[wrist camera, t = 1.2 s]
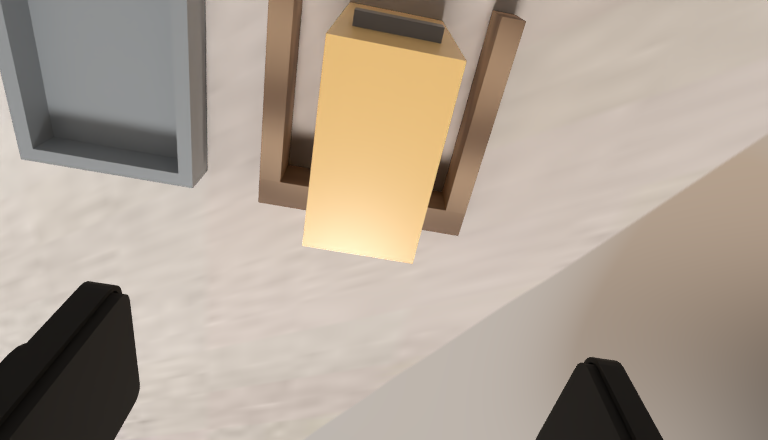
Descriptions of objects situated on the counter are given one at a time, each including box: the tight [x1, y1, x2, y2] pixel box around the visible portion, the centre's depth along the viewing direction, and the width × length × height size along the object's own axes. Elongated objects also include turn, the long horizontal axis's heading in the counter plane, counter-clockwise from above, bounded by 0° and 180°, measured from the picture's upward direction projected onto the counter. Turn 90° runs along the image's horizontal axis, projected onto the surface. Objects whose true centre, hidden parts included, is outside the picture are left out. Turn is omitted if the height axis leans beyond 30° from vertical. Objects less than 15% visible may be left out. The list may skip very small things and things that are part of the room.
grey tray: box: [0, 0, 207, 188], centre depth 25 cm, size 14×10×2 cm
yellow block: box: [302, 2, 466, 264], centre depth 23 cm, size 10×5×10 cm, turn 170°
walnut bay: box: [258, 0, 526, 236], centre depth 26 cm, size 13×12×2 cm
